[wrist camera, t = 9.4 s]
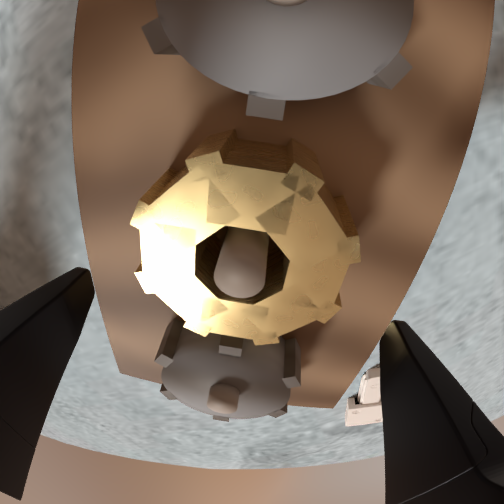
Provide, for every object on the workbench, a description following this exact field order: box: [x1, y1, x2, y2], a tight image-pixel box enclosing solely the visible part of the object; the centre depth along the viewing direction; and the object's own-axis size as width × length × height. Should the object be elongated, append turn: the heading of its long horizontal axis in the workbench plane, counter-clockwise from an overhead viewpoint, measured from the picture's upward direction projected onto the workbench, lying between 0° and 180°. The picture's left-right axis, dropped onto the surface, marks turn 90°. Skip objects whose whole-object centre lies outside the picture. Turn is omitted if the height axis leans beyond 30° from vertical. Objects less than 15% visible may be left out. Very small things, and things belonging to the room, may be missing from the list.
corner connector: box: [345, 368, 383, 427], centre depth 22 cm, size 8×8×2 cm
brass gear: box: [130, 129, 361, 345], centre depth 11 cm, size 8×8×3 cm
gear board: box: [72, 0, 495, 422], centre depth 12 cm, size 28×16×6 cm, turn 172°
